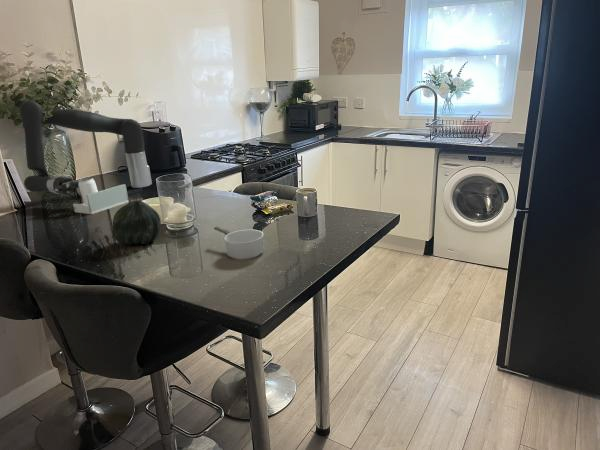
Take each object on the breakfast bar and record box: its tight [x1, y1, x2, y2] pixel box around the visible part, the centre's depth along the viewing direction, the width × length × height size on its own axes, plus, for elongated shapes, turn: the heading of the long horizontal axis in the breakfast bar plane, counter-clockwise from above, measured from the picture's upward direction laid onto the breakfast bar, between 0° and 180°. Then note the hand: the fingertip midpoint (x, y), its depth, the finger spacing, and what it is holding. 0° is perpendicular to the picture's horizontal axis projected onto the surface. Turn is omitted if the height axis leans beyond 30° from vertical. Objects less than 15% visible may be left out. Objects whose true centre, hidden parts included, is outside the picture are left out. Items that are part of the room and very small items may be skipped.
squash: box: [111, 199, 162, 245], centre depth 146 cm, size 14×15×15 cm
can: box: [77, 176, 99, 205], centre depth 191 cm, size 6×6×12 cm
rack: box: [72, 183, 130, 215], centre depth 195 cm, size 19×11×8 cm, turn 151°
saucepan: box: [213, 226, 265, 260], centre depth 134 cm, size 12×20×6 cm, turn 44°
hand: (85, 187), depth 190 cm, fingers open, 8 cm apart
